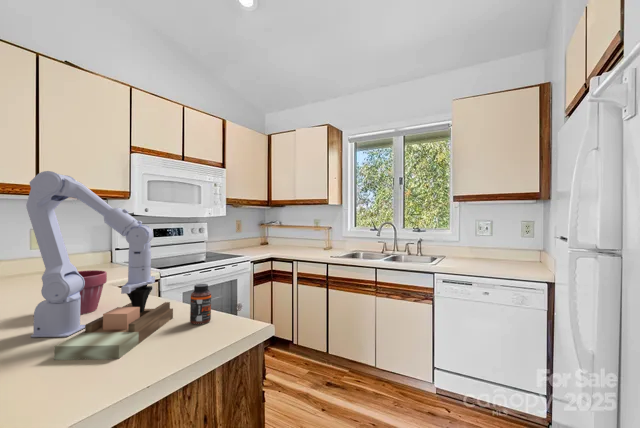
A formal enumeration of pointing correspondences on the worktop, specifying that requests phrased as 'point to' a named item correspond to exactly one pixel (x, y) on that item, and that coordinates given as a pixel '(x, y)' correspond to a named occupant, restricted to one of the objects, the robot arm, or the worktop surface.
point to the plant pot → (91, 289)
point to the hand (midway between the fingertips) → (139, 312)
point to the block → (120, 317)
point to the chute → (113, 336)
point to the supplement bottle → (200, 304)
